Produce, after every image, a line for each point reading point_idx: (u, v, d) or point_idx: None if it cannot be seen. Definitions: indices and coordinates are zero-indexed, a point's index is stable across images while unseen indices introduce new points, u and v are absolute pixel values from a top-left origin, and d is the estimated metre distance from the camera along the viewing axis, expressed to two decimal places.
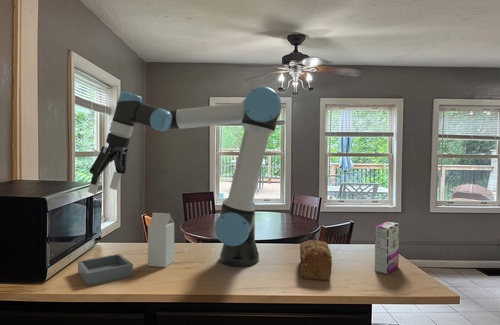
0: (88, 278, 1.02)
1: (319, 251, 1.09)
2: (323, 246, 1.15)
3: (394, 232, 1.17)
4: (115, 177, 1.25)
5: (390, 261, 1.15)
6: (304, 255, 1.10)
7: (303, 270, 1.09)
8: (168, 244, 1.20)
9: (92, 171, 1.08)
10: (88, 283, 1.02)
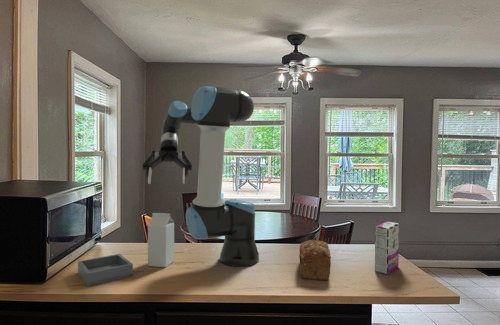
0: (88, 278, 1.02)
1: (318, 251, 1.09)
2: (322, 246, 1.15)
3: (394, 232, 1.17)
4: None
5: (390, 261, 1.15)
6: (303, 255, 1.10)
7: (302, 270, 1.09)
8: (168, 244, 1.20)
9: None
10: (88, 283, 1.02)
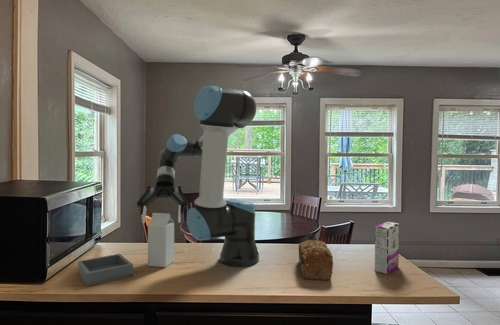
0: (88, 278, 1.02)
1: (320, 251, 1.09)
2: (323, 246, 1.15)
3: (394, 232, 1.17)
4: None
5: (390, 261, 1.15)
6: (305, 255, 1.09)
7: (304, 270, 1.09)
8: (168, 244, 1.20)
9: None
10: (88, 283, 1.02)
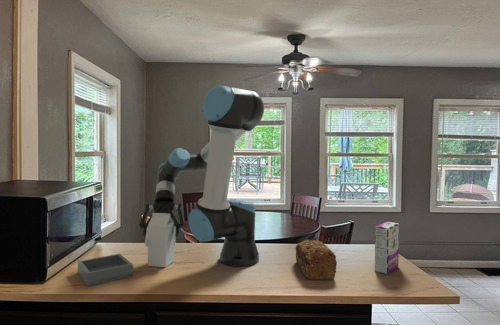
0: (88, 278, 1.02)
1: (324, 251, 1.09)
2: (323, 245, 1.16)
3: (394, 232, 1.17)
4: None
5: (390, 261, 1.15)
6: (309, 256, 1.09)
7: (309, 271, 1.08)
8: (168, 244, 1.20)
9: None
10: (88, 283, 1.02)
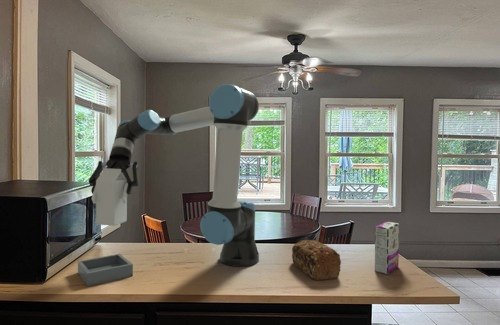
0: (88, 278, 1.02)
1: (329, 250, 1.10)
2: (324, 245, 1.16)
3: (394, 232, 1.17)
4: None
5: (390, 261, 1.15)
6: (316, 256, 1.08)
7: (316, 272, 1.08)
8: (118, 201, 1.12)
9: None
10: (88, 283, 1.02)
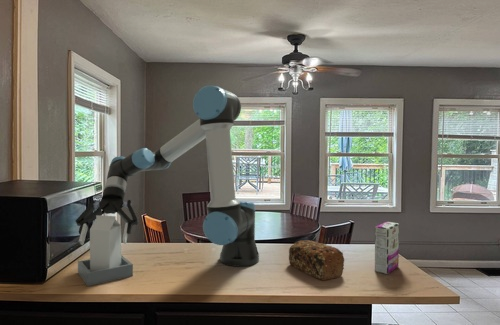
0: (88, 278, 1.02)
1: (334, 249, 1.11)
2: (324, 244, 1.17)
3: (394, 232, 1.17)
4: None
5: (390, 261, 1.15)
6: (323, 256, 1.08)
7: (324, 272, 1.08)
8: (113, 249, 1.10)
9: None
10: (88, 283, 1.02)
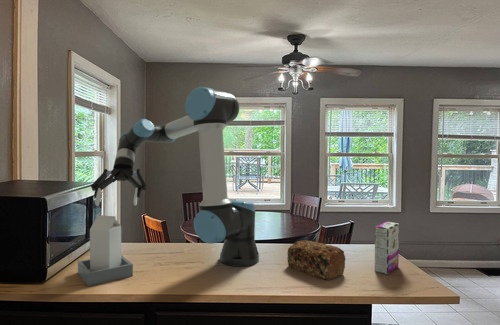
0: (88, 278, 1.02)
1: (336, 249, 1.12)
2: (324, 244, 1.18)
3: (394, 232, 1.17)
4: None
5: (390, 261, 1.15)
6: (328, 256, 1.09)
7: (329, 272, 1.08)
8: (113, 249, 1.10)
9: None
10: (88, 283, 1.02)
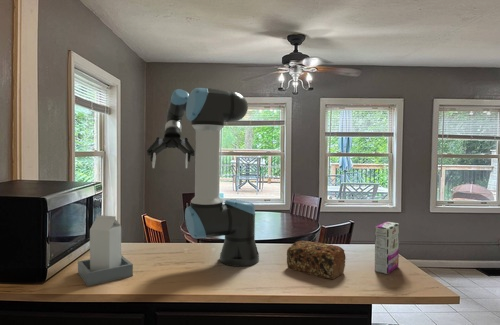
0: (88, 278, 1.02)
1: (338, 248, 1.13)
2: (324, 243, 1.18)
3: (394, 232, 1.17)
4: None
5: (390, 261, 1.15)
6: (332, 256, 1.09)
7: (333, 271, 1.09)
8: (113, 249, 1.10)
9: None
10: (88, 283, 1.02)
